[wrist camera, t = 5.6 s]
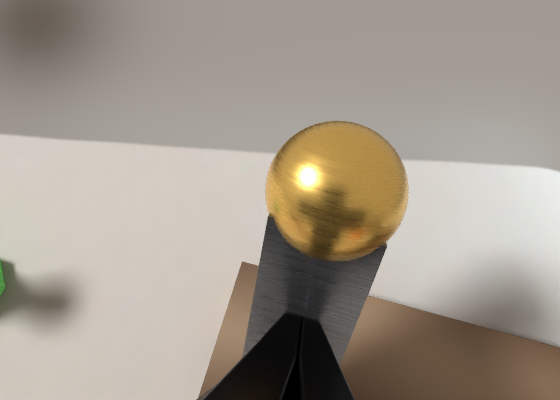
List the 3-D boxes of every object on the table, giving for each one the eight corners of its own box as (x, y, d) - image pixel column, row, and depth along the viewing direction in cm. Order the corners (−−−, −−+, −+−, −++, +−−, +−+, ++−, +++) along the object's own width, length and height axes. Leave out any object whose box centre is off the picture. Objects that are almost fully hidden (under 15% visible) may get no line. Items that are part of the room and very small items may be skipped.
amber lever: (292, 527, 10) (456, 160, 4) (204, 495, 10) (261, 117, 5) (303, 426, 12) (413, 127, 7) (234, 404, 13) (290, 101, 7)
